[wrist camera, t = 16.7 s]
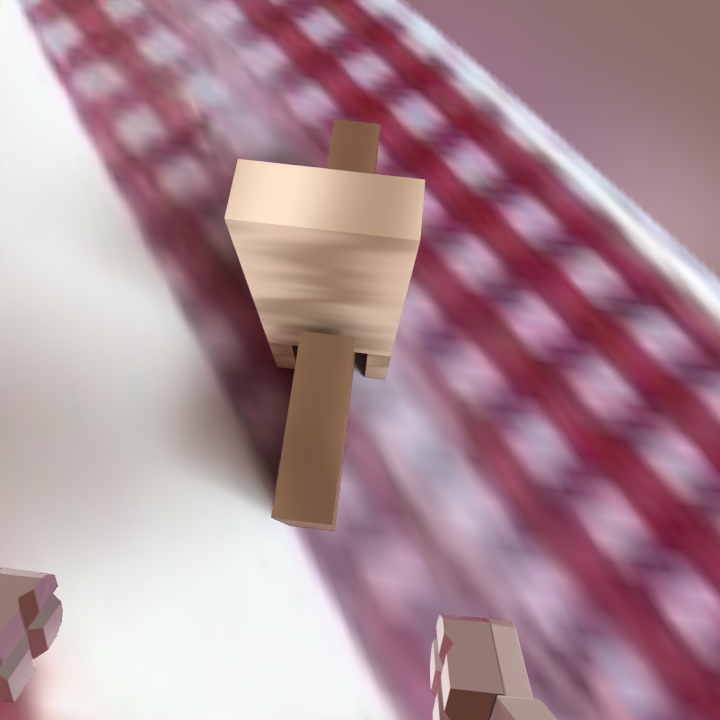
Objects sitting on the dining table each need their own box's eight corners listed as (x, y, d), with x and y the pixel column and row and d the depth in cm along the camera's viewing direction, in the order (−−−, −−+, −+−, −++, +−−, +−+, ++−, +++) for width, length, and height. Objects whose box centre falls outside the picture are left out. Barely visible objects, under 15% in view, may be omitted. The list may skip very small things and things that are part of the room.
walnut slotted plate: (290, 525, 28) (271, 517, 21) (335, 211, 35) (334, 119, 28) (334, 531, 28) (331, 524, 21) (371, 215, 35) (380, 124, 28)
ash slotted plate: (277, 367, 31) (224, 218, 17) (283, 329, 32) (238, 159, 18) (385, 379, 31) (420, 240, 17) (388, 341, 32) (425, 179, 18)
